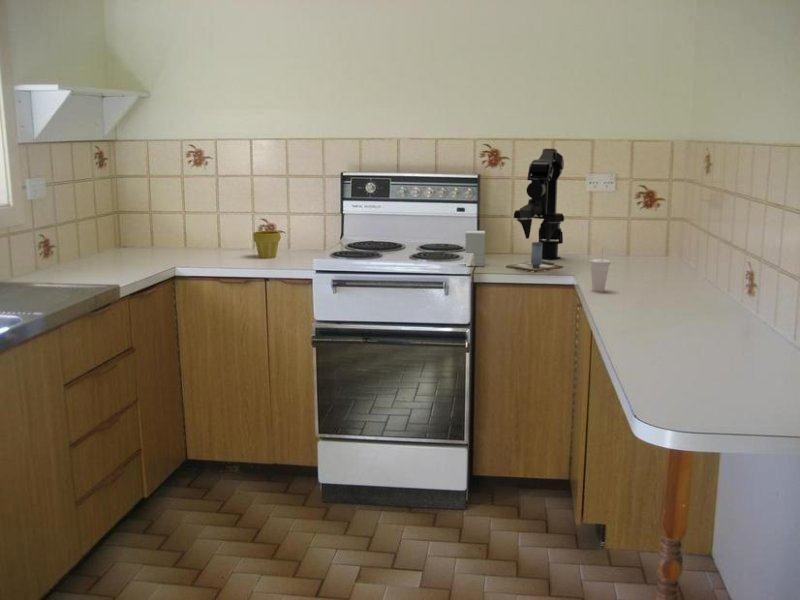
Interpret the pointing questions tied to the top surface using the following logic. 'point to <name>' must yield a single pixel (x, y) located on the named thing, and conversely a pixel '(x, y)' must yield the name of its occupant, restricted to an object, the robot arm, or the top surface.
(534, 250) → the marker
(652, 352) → the top surface
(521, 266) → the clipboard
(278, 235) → the plant pot
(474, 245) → the supplement box
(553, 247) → the robot arm
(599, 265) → the smoothie
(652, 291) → the top surface
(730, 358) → the top surface
